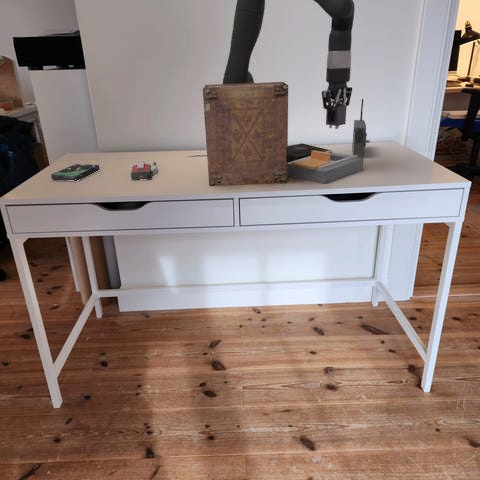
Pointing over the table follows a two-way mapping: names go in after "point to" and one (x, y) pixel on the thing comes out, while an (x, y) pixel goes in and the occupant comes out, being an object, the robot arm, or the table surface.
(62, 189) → the table surface
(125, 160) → the table surface
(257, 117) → the book
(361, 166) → the socket block
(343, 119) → the plug
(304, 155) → the portable cd player
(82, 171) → the disk drive
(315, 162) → the shutter
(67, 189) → the table surface
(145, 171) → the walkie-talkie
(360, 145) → the electronic device
